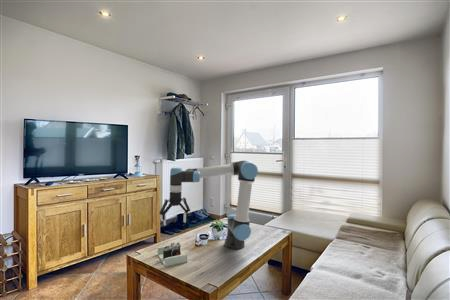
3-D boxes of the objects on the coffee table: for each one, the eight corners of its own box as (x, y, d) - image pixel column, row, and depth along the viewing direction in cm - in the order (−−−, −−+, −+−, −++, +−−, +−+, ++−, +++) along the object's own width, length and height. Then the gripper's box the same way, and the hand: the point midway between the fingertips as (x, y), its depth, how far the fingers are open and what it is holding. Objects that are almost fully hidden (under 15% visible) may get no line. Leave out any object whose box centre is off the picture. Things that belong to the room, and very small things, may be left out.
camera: (168, 262, 151) (170, 248, 151) (161, 258, 156) (162, 244, 156) (184, 257, 161) (186, 243, 161) (177, 253, 166) (178, 240, 166)
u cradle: (177, 250, 169) (177, 243, 169) (187, 262, 153) (187, 254, 153) (157, 254, 162) (157, 247, 162) (165, 267, 146) (165, 258, 146)
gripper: (191, 189, 167) (190, 219, 168) (155, 191, 155) (154, 224, 155) (195, 191, 161) (194, 222, 161) (158, 193, 148) (157, 228, 149)
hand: (174, 223), depth 158 cm, fingers open, 13 cm apart
